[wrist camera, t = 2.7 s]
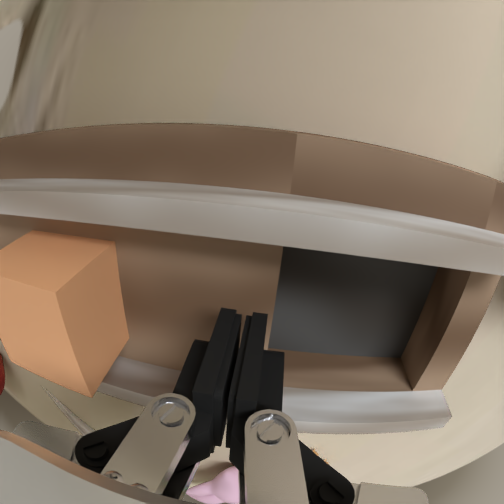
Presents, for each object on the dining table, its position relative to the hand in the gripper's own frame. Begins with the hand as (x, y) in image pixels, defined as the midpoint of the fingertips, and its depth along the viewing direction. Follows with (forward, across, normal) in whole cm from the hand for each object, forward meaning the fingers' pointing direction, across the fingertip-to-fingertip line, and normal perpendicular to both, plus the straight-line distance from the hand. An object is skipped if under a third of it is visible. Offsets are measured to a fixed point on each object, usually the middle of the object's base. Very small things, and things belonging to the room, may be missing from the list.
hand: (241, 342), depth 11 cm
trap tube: (+4, +6, 0) cm, 7 cm away
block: (+1, +8, 0) cm, 8 cm away
